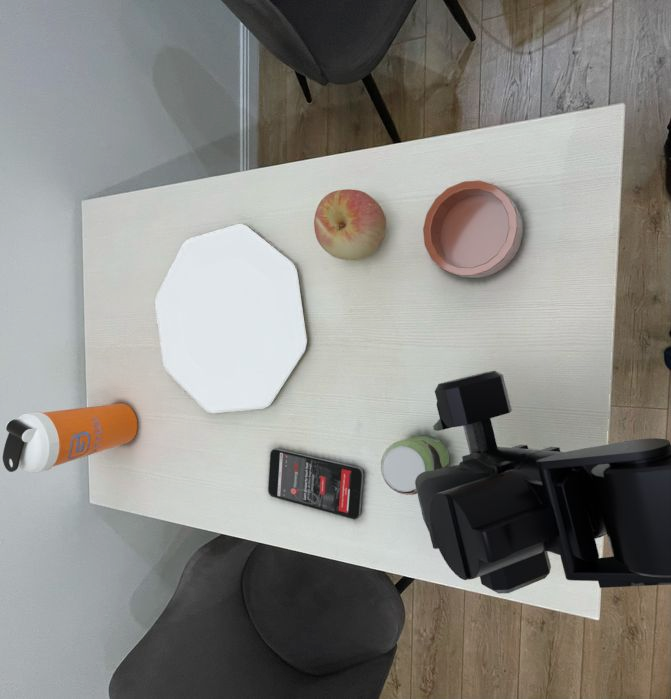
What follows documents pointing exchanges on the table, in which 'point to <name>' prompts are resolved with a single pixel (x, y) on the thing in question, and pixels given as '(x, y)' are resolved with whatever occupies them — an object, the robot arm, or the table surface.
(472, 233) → the bowl
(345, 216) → the apple
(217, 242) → the plate
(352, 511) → the smartphone
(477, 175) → the table surface
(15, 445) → the shaker bottle
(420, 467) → the beverage can
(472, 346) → the table surface
